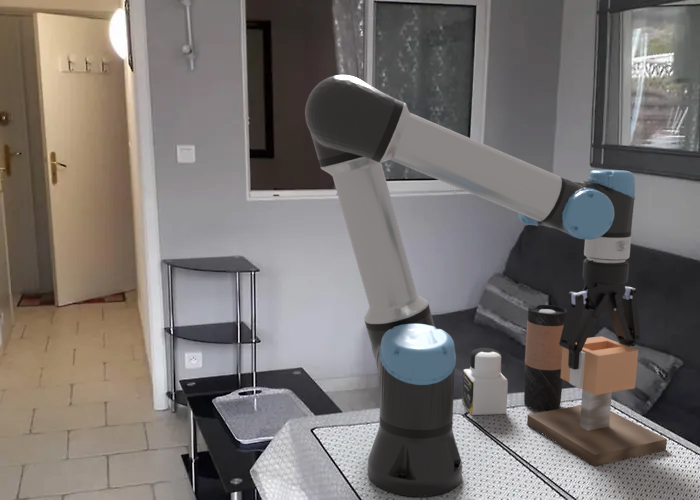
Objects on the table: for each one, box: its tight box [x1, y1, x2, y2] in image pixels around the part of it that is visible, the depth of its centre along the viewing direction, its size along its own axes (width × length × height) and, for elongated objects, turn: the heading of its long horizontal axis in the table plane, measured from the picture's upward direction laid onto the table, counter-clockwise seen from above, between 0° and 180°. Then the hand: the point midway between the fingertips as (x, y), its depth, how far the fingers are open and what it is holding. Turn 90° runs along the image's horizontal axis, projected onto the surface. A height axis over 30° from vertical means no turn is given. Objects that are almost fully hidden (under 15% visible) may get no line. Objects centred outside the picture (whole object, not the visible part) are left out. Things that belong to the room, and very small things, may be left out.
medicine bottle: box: [461, 347, 509, 416], centre depth 140 cm, size 7×7×12 cm
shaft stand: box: [526, 388, 668, 467], centre depth 127 cm, size 16×18×10 cm
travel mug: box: [523, 304, 568, 412], centre depth 141 cm, size 8×8×20 cm
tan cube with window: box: [561, 335, 639, 395], centre depth 126 cm, size 9×9×7 cm
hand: (597, 382), depth 126 cm, fingers closed on tan cube with window, 9 cm apart
